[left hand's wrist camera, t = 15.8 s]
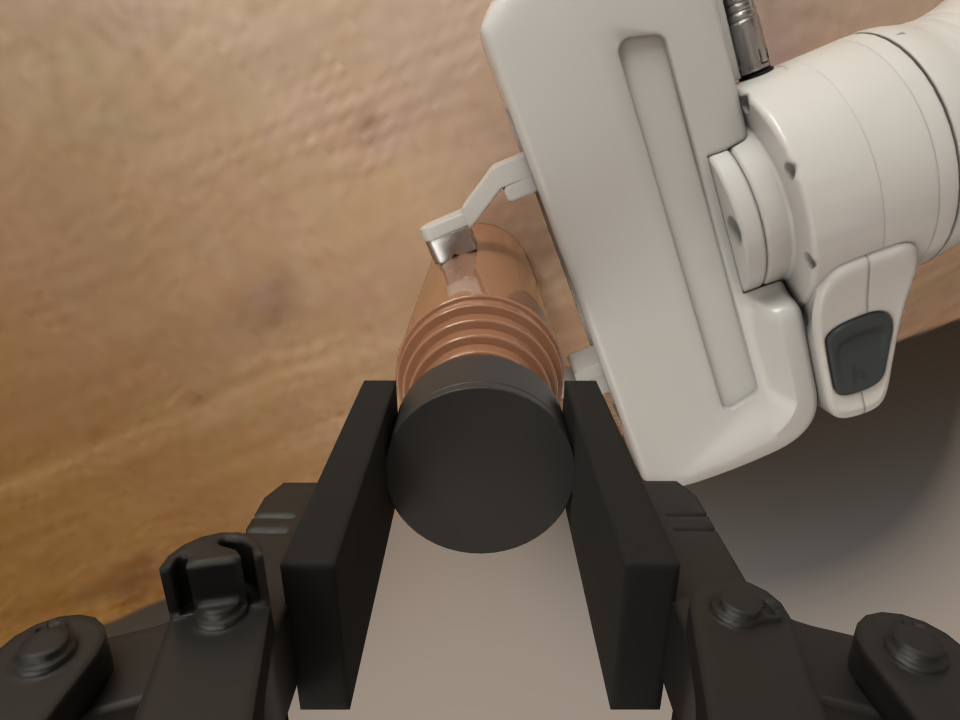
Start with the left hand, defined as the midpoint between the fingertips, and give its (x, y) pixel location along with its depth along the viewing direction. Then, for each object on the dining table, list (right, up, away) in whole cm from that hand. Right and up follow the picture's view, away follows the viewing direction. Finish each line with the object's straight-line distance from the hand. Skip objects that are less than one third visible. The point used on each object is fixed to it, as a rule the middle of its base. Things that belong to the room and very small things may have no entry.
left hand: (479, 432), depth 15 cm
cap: (0, -1, -2) cm, 2 cm away
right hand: (-1, +3, +10) cm, 11 cm away
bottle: (0, +6, +16) cm, 17 cm away
